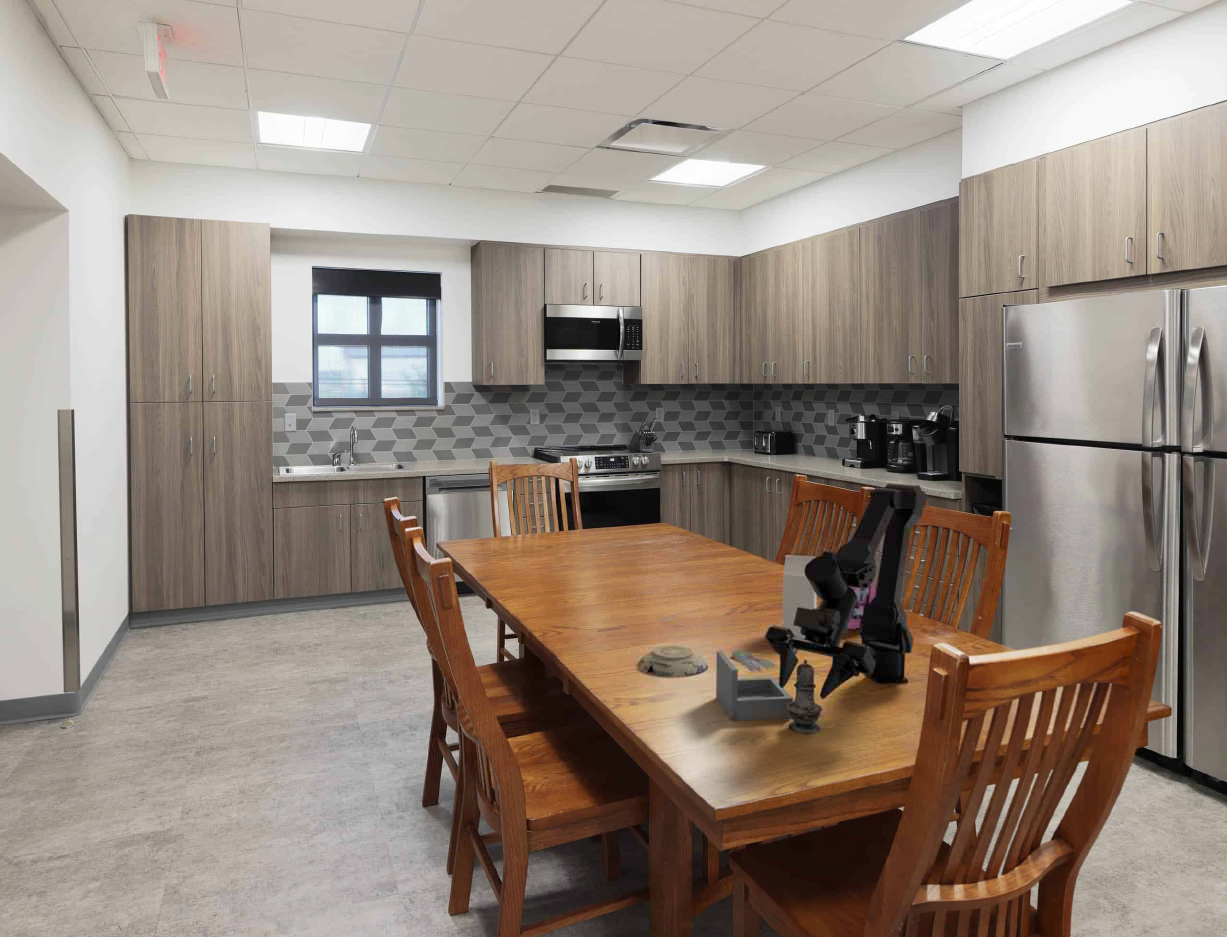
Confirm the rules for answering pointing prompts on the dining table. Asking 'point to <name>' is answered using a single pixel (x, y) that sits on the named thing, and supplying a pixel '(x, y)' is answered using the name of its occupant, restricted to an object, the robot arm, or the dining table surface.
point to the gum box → (861, 604)
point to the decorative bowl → (673, 662)
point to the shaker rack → (749, 694)
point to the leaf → (751, 661)
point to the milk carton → (796, 591)
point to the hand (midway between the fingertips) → (800, 692)
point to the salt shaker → (804, 702)
